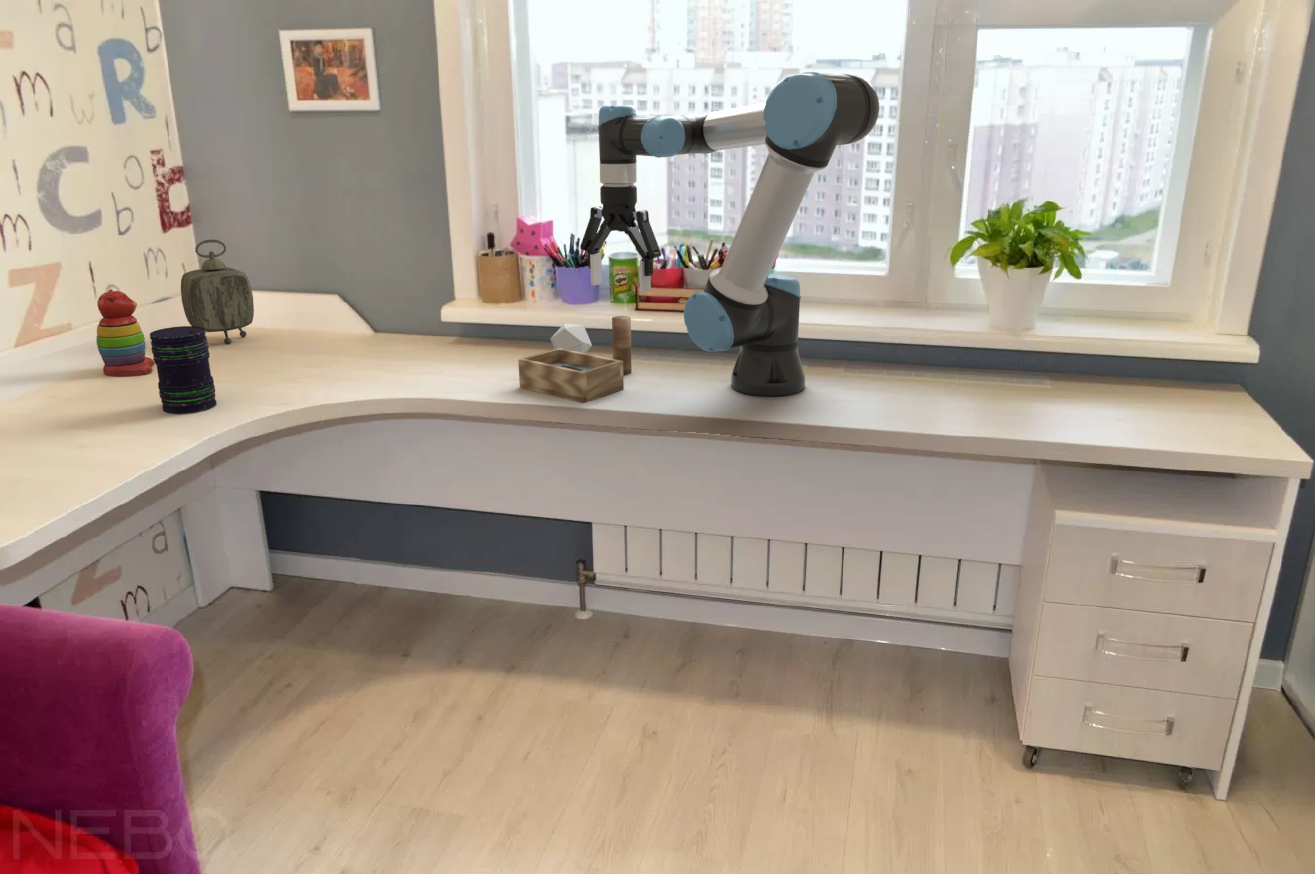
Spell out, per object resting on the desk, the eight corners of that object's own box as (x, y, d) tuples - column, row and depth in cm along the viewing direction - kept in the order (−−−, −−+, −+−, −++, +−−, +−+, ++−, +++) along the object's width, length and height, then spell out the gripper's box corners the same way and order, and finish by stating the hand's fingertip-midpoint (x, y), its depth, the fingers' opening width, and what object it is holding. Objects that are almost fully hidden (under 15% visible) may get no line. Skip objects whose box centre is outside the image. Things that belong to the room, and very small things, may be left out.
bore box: (623, 389, 204) (623, 361, 202) (583, 403, 195) (582, 373, 193) (560, 375, 215) (559, 347, 213) (519, 387, 206) (518, 359, 204)
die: (598, 359, 230) (583, 322, 232) (592, 349, 222) (577, 310, 224) (565, 372, 230) (551, 335, 232) (558, 363, 222) (543, 324, 224)
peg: (635, 371, 217) (634, 317, 213) (623, 375, 214) (622, 320, 210) (621, 368, 219) (620, 315, 215) (609, 372, 216) (608, 318, 213)
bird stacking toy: (151, 374, 217) (137, 293, 211) (99, 379, 213) (83, 297, 208) (155, 362, 226) (141, 285, 221) (105, 367, 223) (90, 288, 217)
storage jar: (151, 413, 190) (137, 336, 185) (181, 398, 200) (168, 325, 195) (199, 415, 189) (187, 338, 184) (227, 400, 198) (216, 326, 193)
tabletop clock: (248, 335, 252) (234, 235, 244) (261, 341, 246) (247, 239, 238) (188, 344, 243) (172, 240, 235) (200, 350, 237) (183, 244, 229)
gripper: (677, 186, 199) (677, 291, 206) (586, 180, 214) (588, 279, 221) (654, 189, 194) (655, 297, 201) (561, 183, 208) (565, 284, 215)
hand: (620, 288), depth 211 cm, fingers open, 13 cm apart
